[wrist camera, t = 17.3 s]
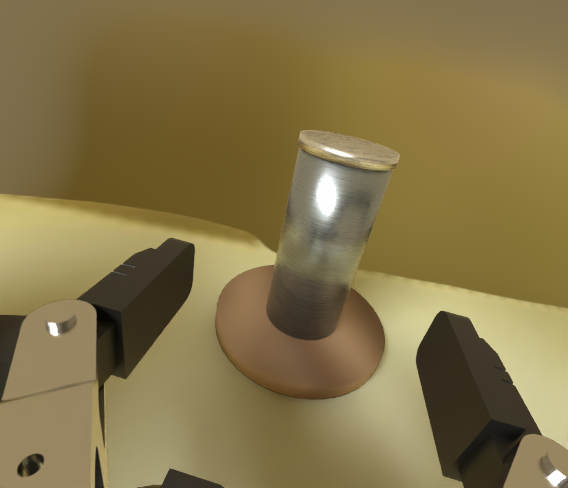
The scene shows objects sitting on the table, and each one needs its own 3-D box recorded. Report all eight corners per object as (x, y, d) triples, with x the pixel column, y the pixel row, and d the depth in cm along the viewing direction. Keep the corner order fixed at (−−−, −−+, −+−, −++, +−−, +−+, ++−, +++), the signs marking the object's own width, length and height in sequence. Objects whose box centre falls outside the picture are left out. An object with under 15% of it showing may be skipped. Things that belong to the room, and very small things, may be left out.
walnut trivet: (332, 273, 30) (335, 263, 30) (414, 380, 21) (421, 367, 20) (205, 279, 26) (206, 267, 25) (234, 419, 16) (237, 405, 16)
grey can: (319, 287, 26) (364, 137, 20) (352, 336, 21) (422, 163, 16) (256, 291, 24) (286, 125, 18) (278, 346, 19) (327, 151, 14)
